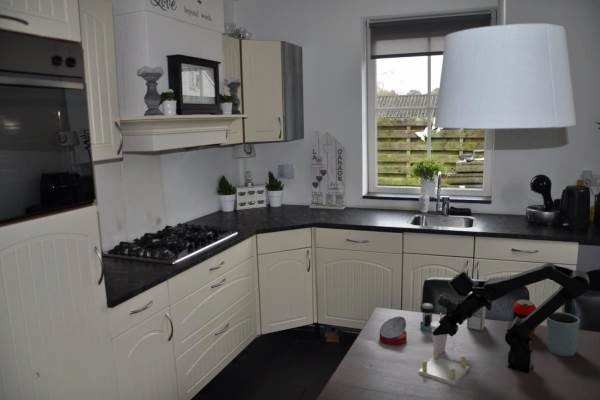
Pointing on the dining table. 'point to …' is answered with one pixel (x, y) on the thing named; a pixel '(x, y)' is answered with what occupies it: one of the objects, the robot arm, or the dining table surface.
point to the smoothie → (438, 337)
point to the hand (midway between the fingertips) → (435, 330)
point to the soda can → (523, 310)
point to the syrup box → (477, 319)
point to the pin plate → (444, 369)
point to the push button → (427, 316)
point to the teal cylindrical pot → (562, 333)
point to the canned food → (394, 332)
